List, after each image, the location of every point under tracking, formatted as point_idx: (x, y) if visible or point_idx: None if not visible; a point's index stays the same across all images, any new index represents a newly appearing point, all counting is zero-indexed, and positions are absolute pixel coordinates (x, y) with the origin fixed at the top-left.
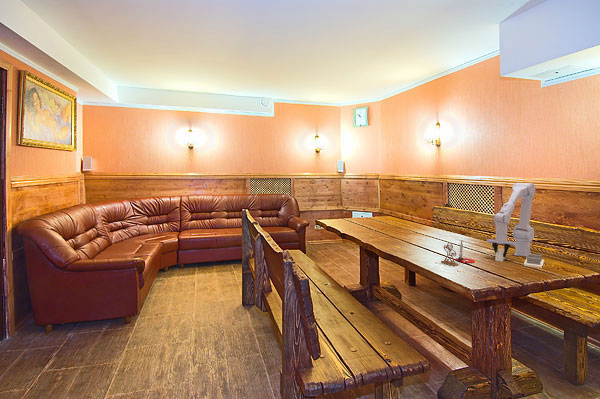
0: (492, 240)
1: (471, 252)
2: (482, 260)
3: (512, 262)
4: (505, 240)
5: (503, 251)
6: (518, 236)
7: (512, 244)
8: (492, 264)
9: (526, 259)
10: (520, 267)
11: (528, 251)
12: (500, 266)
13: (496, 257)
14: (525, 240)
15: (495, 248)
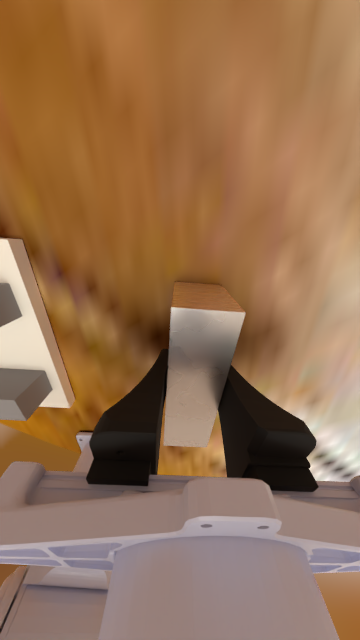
0: (341, 551)
1: (329, 408)
2: (318, 249)
3: (114, 301)
4: (116, 616)
5: (171, 382)
6: (79, 622)
7: (50, 491)
8: (256, 115)
9: (54, 373)
10: (11, 146)
11: (75, 467)
12: (178, 45)
13: (221, 293)
14: (39, 571)
15: (249, 397)
